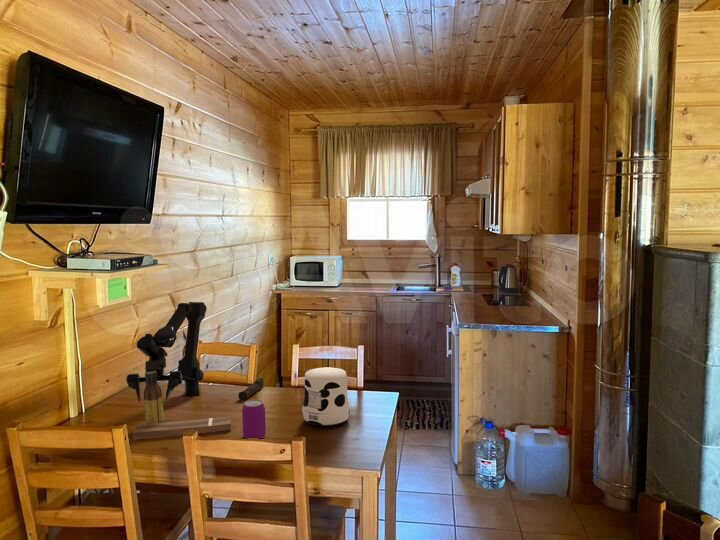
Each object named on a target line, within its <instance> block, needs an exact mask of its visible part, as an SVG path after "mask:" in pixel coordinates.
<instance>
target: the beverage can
mask: <svg viewBox="0 0 720 540" xmlns="http://www.w3.org/2000/svg"><path fill="white" fill-rule="evenodd" d="M241 414H242V415H241V417H242V418H241V419H242V437H243V438H244V439H246V438H262V439H263V438H264V437H265V436H266V432H267V429H266V427H267V426H266V425H267V424H266V406H265V404H264V402H263V400H262V399H255V398H254V399H249V400H248V399H247V400H245V401H244V404H243V406H242V408H241Z"/></svg>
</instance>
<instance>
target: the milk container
mask: <svg viewBox="0 0 720 540" xmlns="http://www.w3.org/2000/svg"><path fill="white" fill-rule="evenodd" d="M303 387H304V399H303V404H302V409H301V410H302V417H303V419H304V421H306V422H307V424H310V425H312V426H315V427H316V426H317V427H334V426H337V425H341V424H343V423H344V422H346V421H347V420H348V419H349V416H350V412H351V411H350V410H351V407H350V401H349V397H348V374H347V371H346V370H344V369H343V368H339V367H325V366H324V367H316V368H311V369H309V370H307V371H306V372H305V373H304V385H303Z"/></svg>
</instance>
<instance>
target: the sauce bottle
mask: <svg viewBox="0 0 720 540" xmlns="http://www.w3.org/2000/svg"><path fill="white" fill-rule="evenodd" d="M144 377H146V382H145V386H144V387H145V388H144V390H143V405H144V406H143V407H144V419H145V423H146V424H153V423H165V412H164V404H163V403H164V402H163V400H164V399H163V395H162V394H163V393H162V388H161V386H160V384H159V383H158V381H157V371H155V370H152V371H147V372H146V371H145V372H144Z"/></svg>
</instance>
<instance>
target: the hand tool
mask: <svg viewBox="0 0 720 540" xmlns="http://www.w3.org/2000/svg"><path fill="white" fill-rule="evenodd" d="M264 383H265V382H264V378H262V377H261V378H258V379H256V380H255V381H254V383H253V384H252V385H250V386H249V387H247V388H245V389H244V390H242V391H239V392H238V395H237V396H238V400H239V399H240V400H239V401H243V400H245V401H248V399H249V398H250V397H251V396H252V395H254V394H255V393H257V392H260V391H262V390H263V389H264V386H265V385H264ZM261 389H262V390H261Z"/></svg>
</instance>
